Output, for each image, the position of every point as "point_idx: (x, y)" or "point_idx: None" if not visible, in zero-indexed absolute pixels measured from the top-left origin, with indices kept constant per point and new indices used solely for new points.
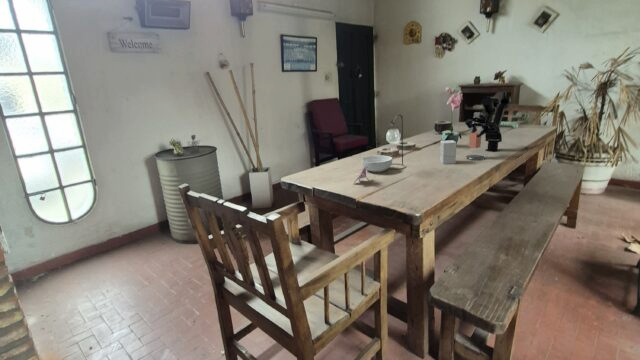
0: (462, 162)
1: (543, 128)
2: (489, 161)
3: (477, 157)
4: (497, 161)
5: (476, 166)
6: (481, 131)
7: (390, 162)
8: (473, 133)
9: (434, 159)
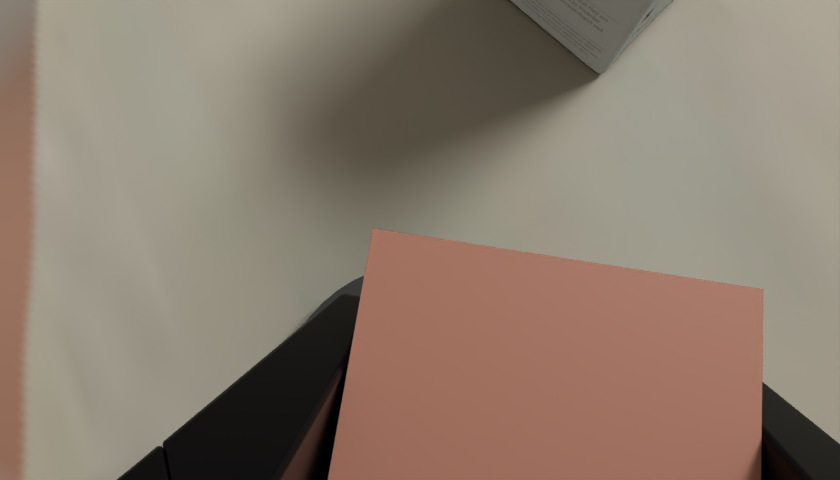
0: (441, 78)
1: None
2: (160, 347)
3: None
4: (57, 421)
5: (202, 3)
6: (150, 457)
7: None
8: (576, 307)
9: (814, 12)
